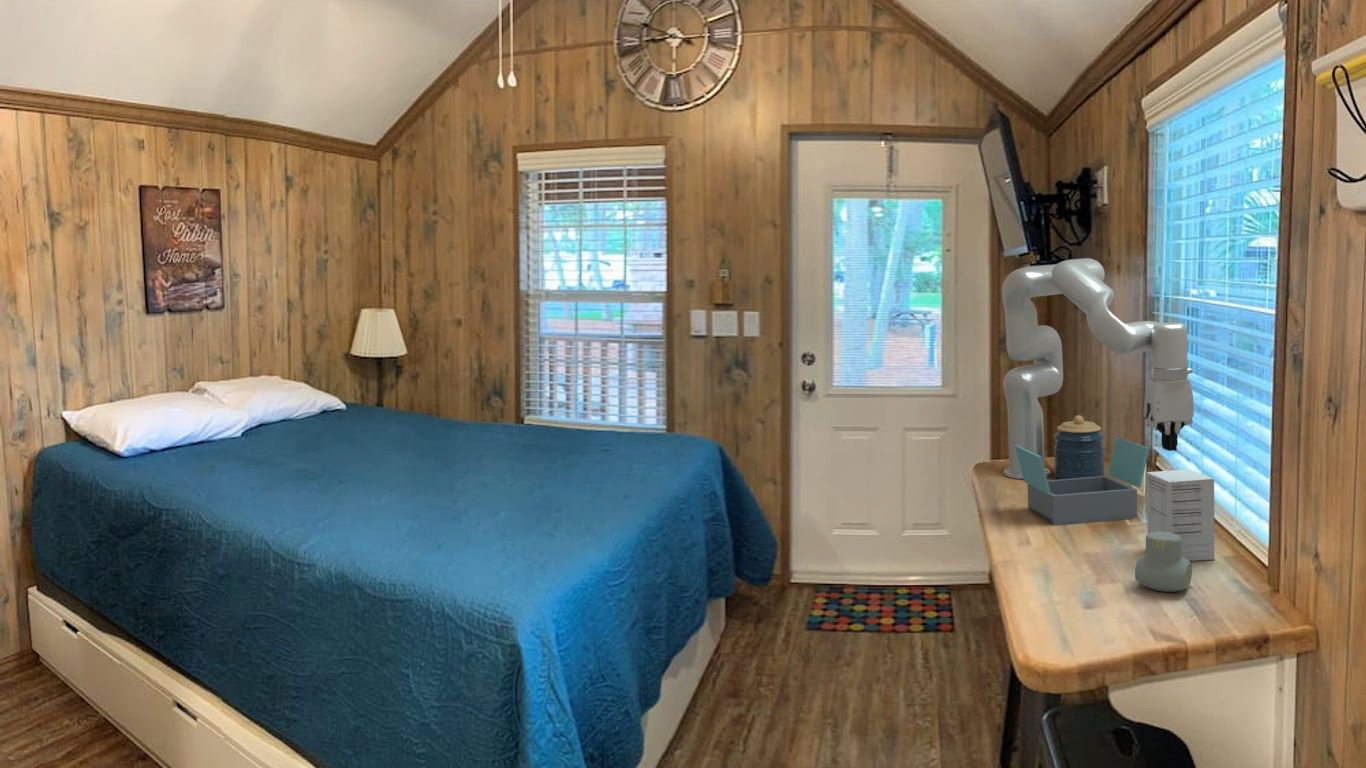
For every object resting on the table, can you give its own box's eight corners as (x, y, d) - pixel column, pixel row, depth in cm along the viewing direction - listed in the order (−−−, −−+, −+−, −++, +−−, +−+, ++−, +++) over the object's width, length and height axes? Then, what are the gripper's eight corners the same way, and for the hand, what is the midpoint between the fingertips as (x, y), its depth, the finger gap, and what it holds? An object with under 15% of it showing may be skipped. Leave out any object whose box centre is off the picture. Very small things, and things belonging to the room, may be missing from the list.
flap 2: (1116, 437, 218) (1118, 437, 218) (1107, 474, 219) (1110, 474, 219) (1146, 447, 204) (1149, 448, 204) (1138, 487, 205) (1140, 487, 205)
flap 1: (1026, 480, 218) (1024, 481, 218) (1017, 444, 217) (1014, 445, 217) (1051, 494, 205) (1048, 495, 205) (1041, 456, 204) (1038, 457, 204)
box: (1028, 509, 219) (1027, 482, 219) (1106, 502, 220) (1106, 475, 219) (1053, 525, 206) (1053, 496, 205) (1137, 518, 206) (1136, 489, 205)
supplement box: (1216, 560, 176) (1216, 479, 174) (1169, 563, 177) (1169, 482, 174) (1189, 545, 186) (1189, 468, 184) (1145, 548, 186) (1145, 471, 184)
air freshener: (1145, 574, 172) (1145, 525, 170) (1193, 581, 166) (1194, 530, 165) (1132, 592, 163) (1132, 541, 162) (1182, 600, 158) (1182, 547, 157)
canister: (1057, 482, 242) (1056, 420, 239) (1051, 471, 254) (1050, 411, 252) (1108, 482, 238) (1108, 419, 236) (1100, 471, 250) (1100, 410, 248)
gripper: (1190, 370, 213) (1190, 444, 215) (1130, 375, 213) (1130, 449, 215) (1209, 373, 206) (1209, 450, 208) (1147, 378, 205) (1148, 455, 208)
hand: (1169, 449), depth 211 cm, fingers closed
